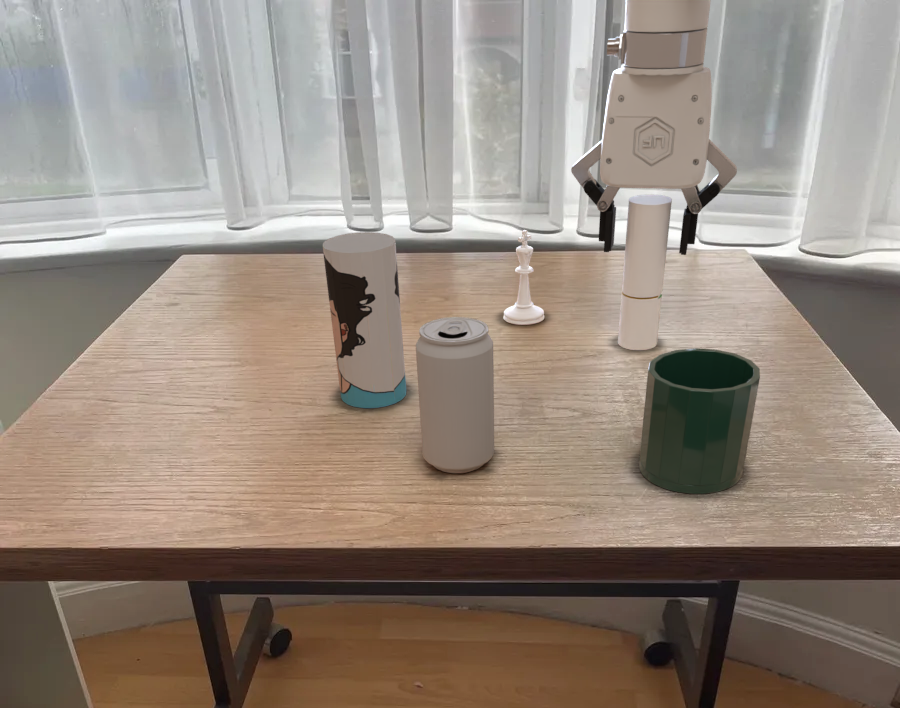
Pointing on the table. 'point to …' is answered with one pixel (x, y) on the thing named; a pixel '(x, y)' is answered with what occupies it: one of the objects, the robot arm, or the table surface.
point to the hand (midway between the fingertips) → (645, 248)
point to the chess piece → (524, 289)
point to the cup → (366, 318)
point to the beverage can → (456, 393)
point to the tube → (643, 270)
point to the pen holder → (697, 419)
